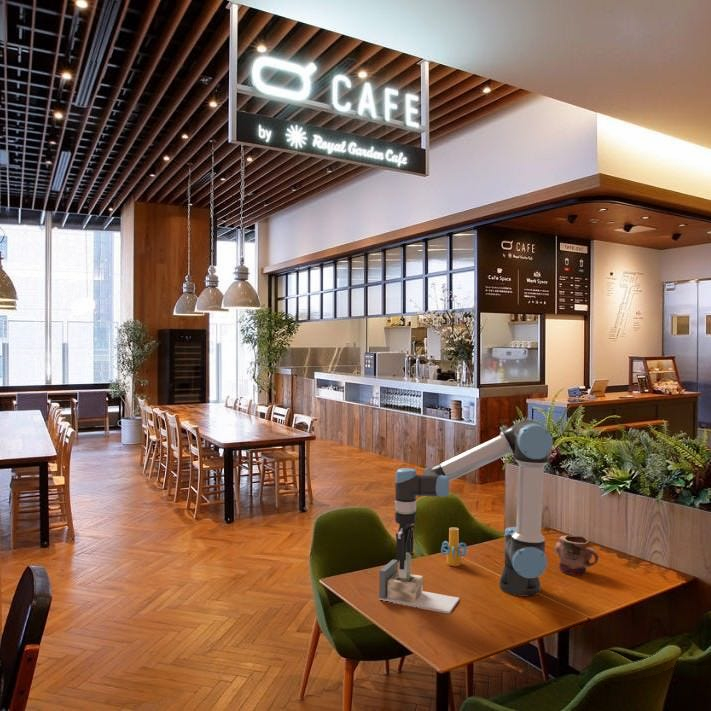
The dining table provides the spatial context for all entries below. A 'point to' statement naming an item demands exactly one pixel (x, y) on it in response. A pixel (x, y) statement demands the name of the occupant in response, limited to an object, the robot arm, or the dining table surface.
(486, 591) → the dining table surface
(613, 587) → the dining table surface
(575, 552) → the brown ceramic mug
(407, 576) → the dowel
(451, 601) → the backstop
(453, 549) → the orange ringed tube
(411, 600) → the block
